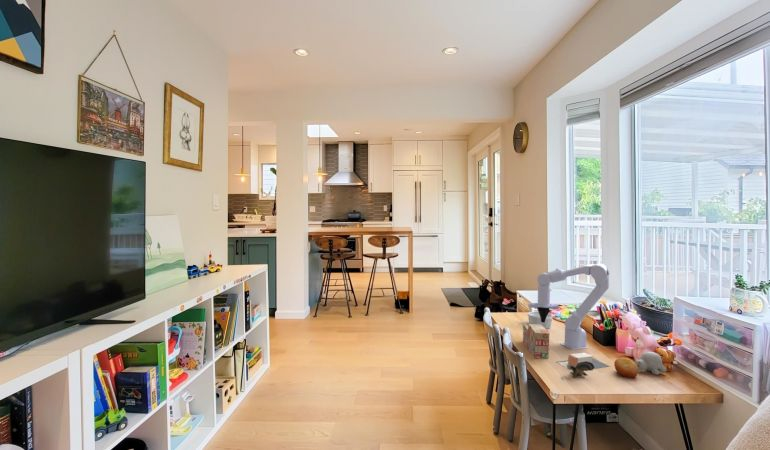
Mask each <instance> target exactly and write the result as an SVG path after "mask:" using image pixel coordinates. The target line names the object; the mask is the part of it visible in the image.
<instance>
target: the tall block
mask: <svg viewBox="0 0 770 450" xmlns="http://www.w3.org/2000/svg"><path fill="white" fill-rule="evenodd" d="M567 358H568V359H567V360H568V364H572V365H573V366H574V367H576V365H577V364H578V363H580V362H585V361H587V362H591V363H592V358H593V355H591V354H588V353H587V352H581V353H580V352H579V353H571V354H569V353H568V357H567Z"/></svg>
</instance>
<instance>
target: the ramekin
mask: <svg viewBox="0 0 770 450" xmlns="http://www.w3.org/2000/svg"><path fill="white" fill-rule="evenodd" d="M527 316H528V317H527V318H528V324H538V325H542V326H543V327H544V328H545V329H546V330H548V329H550V328H551V326H552V320H553V315H552V314H550V313H548V315H547V317H546V320H545V323H544V322H541V318H540V314H539V312H538V311H529V312H528V313H527Z"/></svg>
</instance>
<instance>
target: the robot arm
mask: <svg viewBox="0 0 770 450" xmlns="http://www.w3.org/2000/svg"><path fill="white" fill-rule="evenodd" d="M583 274H584V275H587V276H590V277H592V278H593V280H594V282H595V287H594V288H593V289H592V290H591V292H590V293H589V294H588V295H587V296H586V298H585V299H584V300H583V301H582V303H581V304H580V305H579V306H578V308H577V309H575V311H574V313H571V314H569V315H568V317H567V318H565V320H564V342H560V346H561V345H562V346H564V347H566V348H568V349H569V350H581V349H582V350H583V349H588V346H587V335H588V334H587V331H586V330H585V329H583V328H582V327H581V325H582V324H583V320H584V318H585V317H586V316H587V314H588V313H589V312H590V310H592V308H593V307H594V306H595V305H596V304H597V302H598V301H599V300H600V299H601V298H602V296H604V295H605V293H606V292H607V291H608V289H609V288H610V271H609V269H608V267H607V265H606V264H604V263H596V264H595V263H593V264H591V263H590V264H585V265H582V266H578V267H574V268H570V269H567V270H564V269H562V268H558V267H557V268H555V270H552V271H549V270H547V271H546V272H543V273H540V274H539V275H538V276H537V278H536V279H537V282H538V284H537V285H538V287H537V302H532V303H531V302H529V303H528V308H535V309H537V312H539V314H540V318H541V322H544V323H545V320H546V317H547V315H548V314H550V311H551V309H552V310H559V309H560V305H559V304H552V303H550V301H551V283H552V284H553V283H558V282H563V281H566V279H567V278H568V277H573V276H577V275H583Z"/></svg>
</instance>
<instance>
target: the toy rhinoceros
mask: <svg viewBox="0 0 770 450" xmlns="http://www.w3.org/2000/svg"><path fill="white" fill-rule="evenodd" d="M633 361H634V362H635V363H636V364H637V366H638V373H639V374H640V373H642V371H644V370H646V371H648V372H651V374H652V375H656V376H658V375H660V373H666V372H667V368H666V366H665V365H664V364H663V359H662V358H661V356H660V355H659V354H658V353H656V352H654V351H644V352H643V353H642V354H641V355H640V359H638V358H637V359H636V358H634V357H633ZM638 373H637V374H638Z"/></svg>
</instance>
